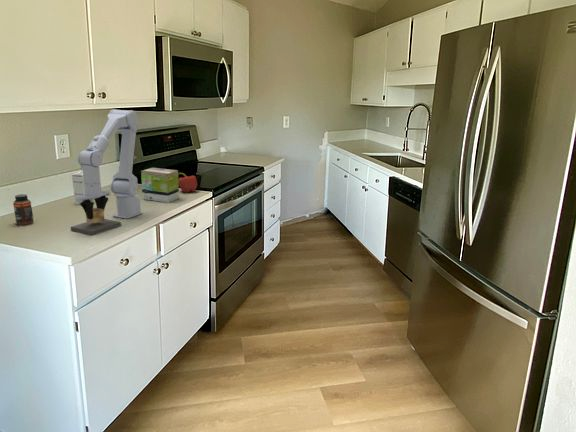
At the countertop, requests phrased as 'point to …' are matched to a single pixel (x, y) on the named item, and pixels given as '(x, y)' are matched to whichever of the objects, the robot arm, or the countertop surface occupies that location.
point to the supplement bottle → (23, 210)
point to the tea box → (160, 184)
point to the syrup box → (78, 185)
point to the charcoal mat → (95, 227)
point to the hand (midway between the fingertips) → (95, 217)
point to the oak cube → (96, 215)
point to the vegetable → (187, 183)
